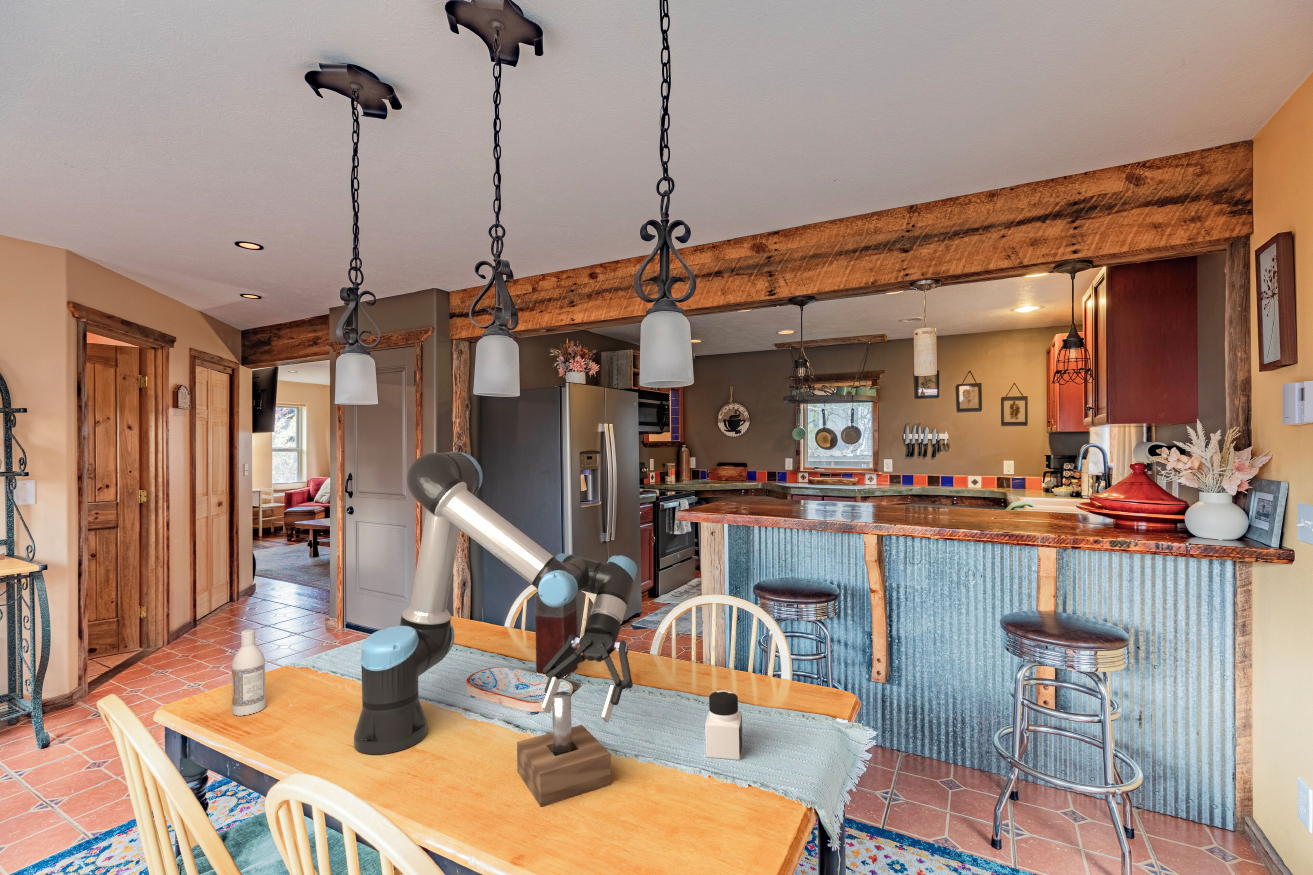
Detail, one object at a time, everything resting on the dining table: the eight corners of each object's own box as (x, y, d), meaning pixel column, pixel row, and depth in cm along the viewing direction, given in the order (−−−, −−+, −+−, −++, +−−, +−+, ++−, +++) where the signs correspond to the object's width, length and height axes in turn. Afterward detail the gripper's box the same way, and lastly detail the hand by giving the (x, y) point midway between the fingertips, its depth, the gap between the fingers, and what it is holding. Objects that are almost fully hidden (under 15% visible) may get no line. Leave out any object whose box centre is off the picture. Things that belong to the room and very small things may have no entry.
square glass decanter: (581, 664, 182) (579, 569, 182) (564, 678, 172) (562, 577, 172) (554, 661, 185) (552, 568, 185) (535, 675, 174) (534, 576, 174)
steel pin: (550, 765, 121) (549, 694, 121) (568, 760, 123) (566, 690, 123) (557, 773, 118) (556, 700, 118) (575, 768, 120) (573, 696, 120)
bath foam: (236, 707, 156) (234, 628, 156) (268, 702, 159) (266, 625, 159) (229, 719, 150) (228, 636, 150) (262, 713, 153) (261, 632, 153)
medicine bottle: (740, 760, 126) (739, 702, 126) (705, 758, 127) (704, 699, 127) (742, 743, 133) (741, 688, 133) (709, 741, 134) (708, 686, 134)
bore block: (517, 771, 123) (516, 741, 123) (582, 753, 130) (581, 724, 130) (540, 807, 111) (540, 773, 111) (611, 784, 118) (610, 753, 118)
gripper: (661, 633, 137) (636, 731, 123) (563, 623, 146) (529, 713, 132) (652, 616, 132) (625, 716, 118) (550, 607, 141) (514, 699, 127)
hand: (574, 715), depth 125 cm, fingers open, 13 cm apart
